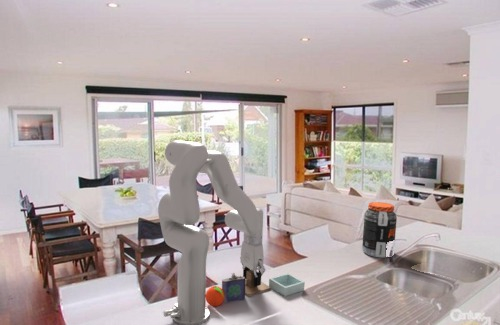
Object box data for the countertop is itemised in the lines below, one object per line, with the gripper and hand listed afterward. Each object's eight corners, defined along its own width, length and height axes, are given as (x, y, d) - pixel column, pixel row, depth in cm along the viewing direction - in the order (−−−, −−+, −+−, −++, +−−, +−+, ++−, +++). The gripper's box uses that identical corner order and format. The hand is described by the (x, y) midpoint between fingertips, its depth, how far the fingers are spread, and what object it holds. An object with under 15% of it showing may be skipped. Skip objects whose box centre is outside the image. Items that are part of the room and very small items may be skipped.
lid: (248, 296, 143) (248, 279, 143) (232, 285, 152) (233, 269, 152) (270, 289, 150) (271, 273, 149) (254, 279, 159) (255, 263, 158)
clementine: (230, 306, 137) (230, 287, 136) (216, 313, 132) (216, 293, 131) (215, 298, 142) (215, 280, 141) (201, 305, 137) (201, 286, 136)
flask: (222, 305, 138) (223, 277, 136) (220, 301, 140) (220, 273, 139) (246, 301, 141) (246, 273, 140) (243, 297, 144) (244, 270, 142)
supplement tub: (390, 261, 185) (394, 209, 182) (358, 254, 193) (361, 205, 190) (396, 251, 198) (400, 203, 195) (366, 245, 206) (369, 199, 203)
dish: (284, 298, 144) (285, 288, 144) (268, 287, 152) (269, 278, 152) (304, 291, 150) (304, 282, 149) (287, 282, 158) (288, 273, 158)
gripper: (233, 234, 153) (232, 276, 156) (258, 247, 139) (256, 293, 142) (248, 231, 158) (247, 272, 160) (274, 243, 144) (272, 288, 146)
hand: (251, 281), depth 151 cm, fingers open, 6 cm apart
